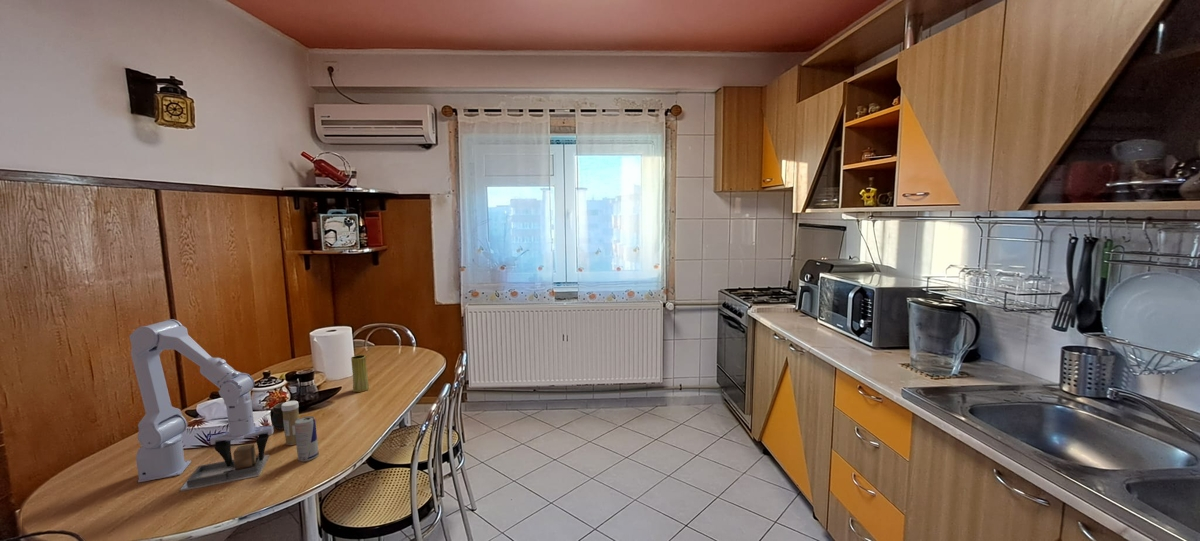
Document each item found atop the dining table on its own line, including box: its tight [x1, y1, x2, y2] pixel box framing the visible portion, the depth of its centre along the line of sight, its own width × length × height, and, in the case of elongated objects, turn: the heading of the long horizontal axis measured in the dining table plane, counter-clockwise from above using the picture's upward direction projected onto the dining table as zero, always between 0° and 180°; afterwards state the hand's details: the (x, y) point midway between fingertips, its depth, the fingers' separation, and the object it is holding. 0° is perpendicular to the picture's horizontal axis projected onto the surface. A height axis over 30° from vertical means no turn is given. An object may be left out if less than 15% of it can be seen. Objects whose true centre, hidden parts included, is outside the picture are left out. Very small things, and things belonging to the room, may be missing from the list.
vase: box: [350, 354, 370, 393], centre depth 197 cm, size 6×6×14 cm
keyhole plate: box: [179, 454, 270, 492], centre depth 135 cm, size 18×12×2 cm
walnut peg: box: [232, 443, 257, 469], centre depth 136 cm, size 4×4×6 cm
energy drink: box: [294, 415, 319, 463], centre depth 142 cm, size 5×5×12 cm
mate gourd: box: [271, 396, 297, 430], centre depth 164 cm, size 7×8×10 cm
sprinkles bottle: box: [281, 400, 300, 446], centre depth 152 cm, size 5×5×14 cm
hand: (245, 461), depth 137 cm, fingers open, 7 cm apart
